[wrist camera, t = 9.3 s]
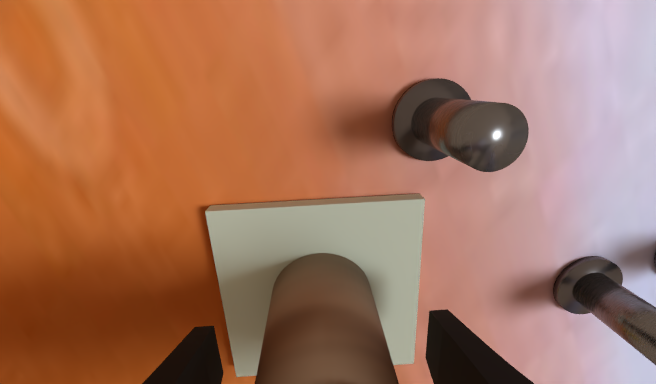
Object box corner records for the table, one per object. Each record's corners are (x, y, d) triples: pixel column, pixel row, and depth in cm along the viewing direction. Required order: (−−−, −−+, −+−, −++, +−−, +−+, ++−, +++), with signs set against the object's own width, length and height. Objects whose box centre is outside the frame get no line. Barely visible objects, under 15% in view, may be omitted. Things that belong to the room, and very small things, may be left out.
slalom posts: (694, 301, 14) (832, 378, 10) (386, 322, 14) (414, 412, 10) (867, -98, 9) (1244, -224, 6) (397, -86, 9) (461, -215, 5)
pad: (409, 352, 14) (413, 363, 14) (239, 365, 14) (236, 377, 14) (419, 193, 12) (425, 199, 11) (210, 205, 11) (204, 211, 11)
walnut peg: (371, 332, 13) (417, 519, 7) (276, 339, 13) (249, 535, 7) (372, 248, 12) (429, 402, 6) (265, 255, 12) (222, 418, 6)
